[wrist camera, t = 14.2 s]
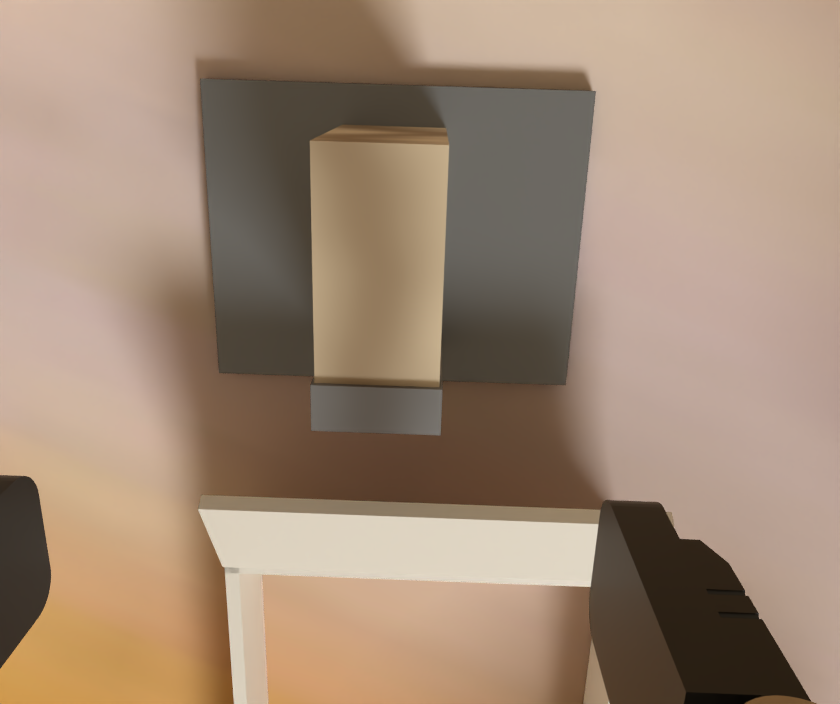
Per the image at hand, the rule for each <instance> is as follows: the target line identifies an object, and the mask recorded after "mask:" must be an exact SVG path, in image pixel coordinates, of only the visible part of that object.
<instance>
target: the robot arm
mask: <svg viewBox="0 0 840 704" xmlns="http://www.w3.org/2000/svg"><path fill="white" fill-rule="evenodd" d="M50 582H51V569H50V562H49V556H48V550H47V543H46V537H45V531H44V524H43V518H42V512H41V506H40V499H39V494H38V489H37V486H36V484H35V483H34V481H33V480H32V479H31V478H29V477H27V476H8V475H0V668H1V667H2V666H3V664H4V663H5V662H6V660H7V659H8V658H9V656H10V655H11V654H12V652H13V651H14V649H15V648H16V647H17V645H18V644H19V643H20V641H21V640H22V639H23V637H24V636H25V635H26V633H27V632H28V631H29V629H30V628H31V627H32V625H33V624H34V623H35V621H36V620H37V619H38V617H39V616H40V614H41V612H42V610H43V609H44V606H45V604H46V601H47V598H48V594H49V589H50ZM758 614H759V613H758V612H757V610H756V608H755V607H754V605H753V603H752V602H751V600H750V598H749V596H745V590H744V588H743V586H742V585H741V583H740V581H739V580H738V578H737V576H736V575H735V573H734V571H733V570H732V568H731V566H730V565H729V563H728V562H726V561H725V560H724V559H723V558H721V557H720V556H719V555H718V554H716V553H715V552H714V551H713V550H712V549H710V548H709V547H708V546H707V545H705V544H704V543H703V542H702V541H700V540H689V539H680V538H679V537H678V535H677V533H676V531H675V529H674V527H673V525H672V523H671V521H670V519H669V517H668V515H667V514H666V512H665V510H664V508H663V506H662V505H661V504H660V503H659V502H641V501H615V500H605V501H604V502H603V504H602V507H601V511H600V517H599V524H598V532H597V540H596V548H595V556H594V563H593V571H592V579H591V587H590V597H589V619H590V629H591V636H592V641H593V644H594V648H595V652H596V656H597V659H598V663H599V667H600V670H601V674H602V678H603V681H604V685H605V689H606V692H607V696H608V700H609V703H610V704H816V703H814V702H811V700H810V699H809V697H808V695H807V694H806V692H805V690H804V689H803V687H802V685H801V684H800V682H799V680H798V679H797V677H796V675H795V673H794V672H793V670H792V668H791V667H790V665H789V663H788V662H787V660H786V658H785V657H784V655H783V653H782V652H781V650H780V648H779V647H778V645H777V643H776V642H775V640H774V638H773V637H772V635H771V633H770V632H769V630H768V628H767V627H766V625H765V623H764V622H763V620H762V619H759V616H758Z"/></svg>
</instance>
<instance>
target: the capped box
mask: <svg viewBox="0 0 840 704" xmlns="http://www.w3.org/2000/svg"><path fill="white" fill-rule="evenodd" d="M448 162H449V141H448V135H447V130H446V128H434V127H402V126H370V125H341V126H339V127H337V128H335V129H333V130H330V131H328V132H326V133H324V134H322V135H320V136H318V137H316V138H314V139H312V140H310V179H311V231H312V282H313V334H314V378H313V380H312V382H311V385H310V392H311V431H332V432H360V433H388V434H415V435H441V413H442V309H443V285H444V260H445V236H446V211H447V187H448Z"/></svg>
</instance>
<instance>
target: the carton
mask: <svg viewBox="0 0 840 704" xmlns="http://www.w3.org/2000/svg"><path fill="white" fill-rule="evenodd" d="M198 511H199V513H200V515H201V518H202V520H203V522H204V525H205V527H206V529H207V532H208V534H209V536H210V539H211V541H212V543H213V546H214V548H215V550H216V553H217V555H218V557H219V560H220V562H221V564H222V567H225V581H226V596H227V610H228V625H229V640H230V654H231V669H232V684H233V698H234V704H268V683H267V663H266V642H265V622H264V601H263V581H262V574H265V575H291V576H317V577H343V578H369V579H396V580H422V581H448V582H474V583H500V584H526V585H552V586H579V587H591V579H592V571H593V563H594V556H595V548H596V540H597V532H598V524H599V517H600V511H601V510H594V509H567V508H540V507H514V506H487V505H460V504H433V503H406V502H379V501H352V500H326V499H299V498H272V497H245V496H218V495H201V499H200V503H199V507H198ZM666 514H667V515H668V517H669V519H670V521H671V523H672V525H673V527H674V523H673V518H672V513H671V512H666ZM583 704H610V703H609V700H608V696H607V692H606V689H605V685H604V681H603V678H602V674H601V670H600V667H599V663H598V659H597V656H596V652H595V648H594V644H593V641H592V640H591V647H590V655H589V662H588V670H587V678H586V685H585V693H584V701H583Z"/></svg>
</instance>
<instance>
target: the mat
mask: <svg viewBox="0 0 840 704" xmlns="http://www.w3.org/2000/svg"><path fill="white" fill-rule="evenodd" d="M200 85H201V100H202V116H203V131H204V147H205V162H206V178H207V193H208V208H209V224H210V239H211V255H212V270H213V286H214V301H215V317H216V332H217V348H218V363H219V373H237V374H265V375H293V376H314V334H313V282H312V231H311V179H310V140H312V139H314V138H316V137H318V136H320V135H322V134H324V133H326V132H328V131H330V130H333V129H335V128H337V127H339V126H341V125H370V126H402V127H434V128H446V130H447V135H448V141H449V162H448V187H447V211H446V236H445V260H444V285H443V309H442V381H462V382H490V383H518V384H546V385H566V377H567V367H568V358H569V348H570V338H571V328H572V319H573V309H574V299H575V289H576V279H577V270H578V260H579V250H580V240H581V231H582V221H583V211H584V201H585V192H586V182H587V172H588V162H589V152H590V143H591V133H592V123H593V113H594V104H595V94H596V91H577V90H546V89H514V88H482V87H451V86H419V85H387V84H356V83H324V82H292V81H261V80H229V79H200Z"/></svg>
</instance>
